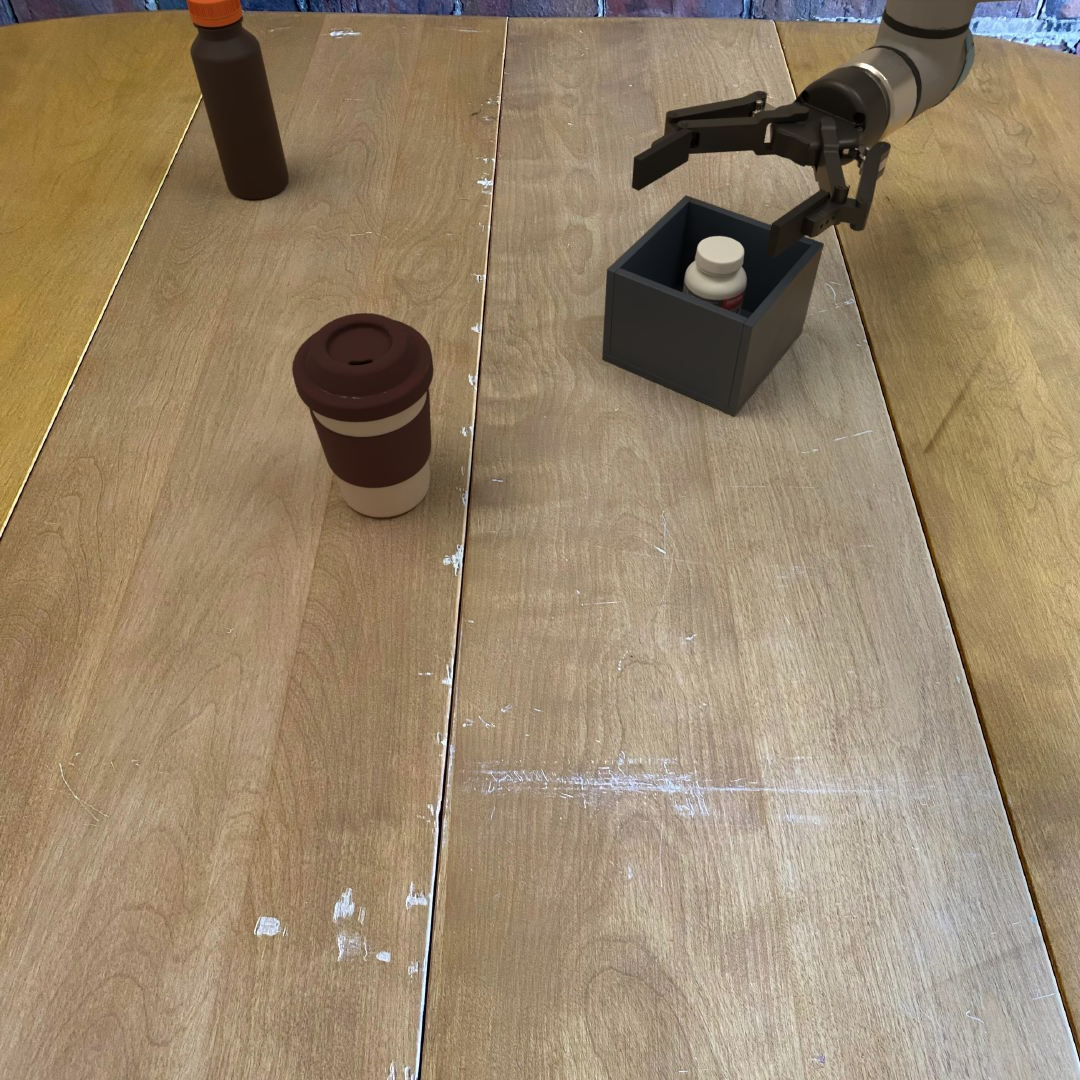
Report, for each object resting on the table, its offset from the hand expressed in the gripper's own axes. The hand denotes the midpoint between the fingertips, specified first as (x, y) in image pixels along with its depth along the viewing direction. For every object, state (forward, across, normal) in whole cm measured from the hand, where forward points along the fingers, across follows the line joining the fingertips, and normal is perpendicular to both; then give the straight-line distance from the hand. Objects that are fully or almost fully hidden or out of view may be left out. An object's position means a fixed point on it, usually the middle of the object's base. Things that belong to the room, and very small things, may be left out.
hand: (701, 206), depth 78 cm
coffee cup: (+28, +8, -16) cm, 34 cm away
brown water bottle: (+9, +53, -16) cm, 56 cm away
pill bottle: (-3, 0, -15) cm, 16 cm away
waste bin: (-3, 0, -16) cm, 16 cm away
